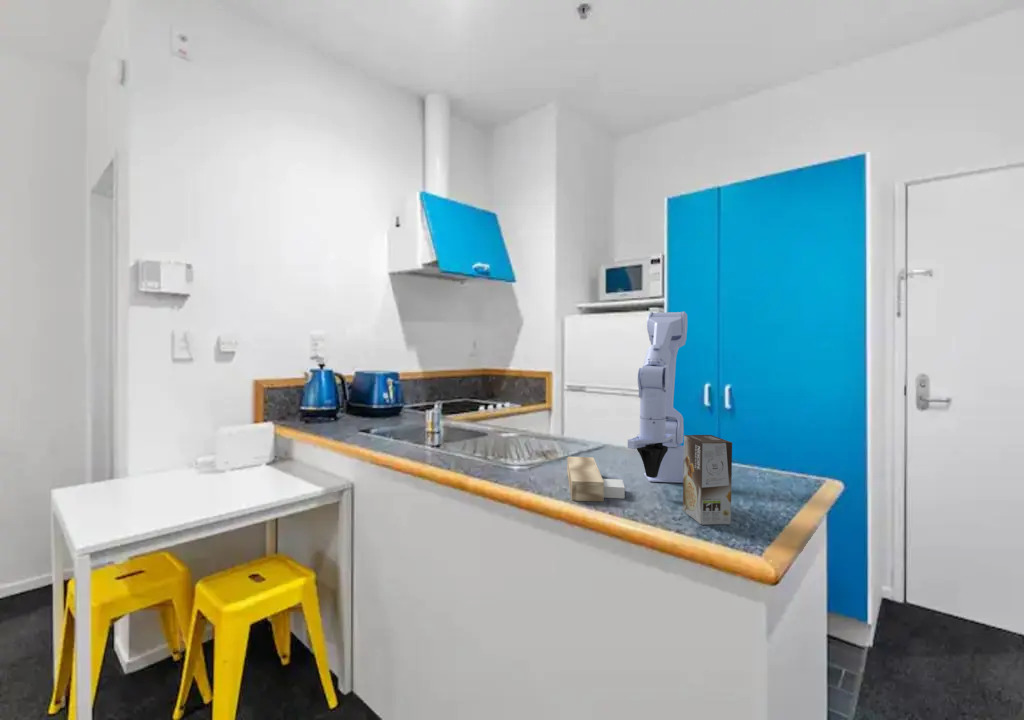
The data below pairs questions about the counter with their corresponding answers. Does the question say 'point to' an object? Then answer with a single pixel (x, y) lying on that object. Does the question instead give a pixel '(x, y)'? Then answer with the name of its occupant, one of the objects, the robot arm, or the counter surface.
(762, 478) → the counter surface
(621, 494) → the white flat block
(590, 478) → the wooden block
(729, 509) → the coffee box
